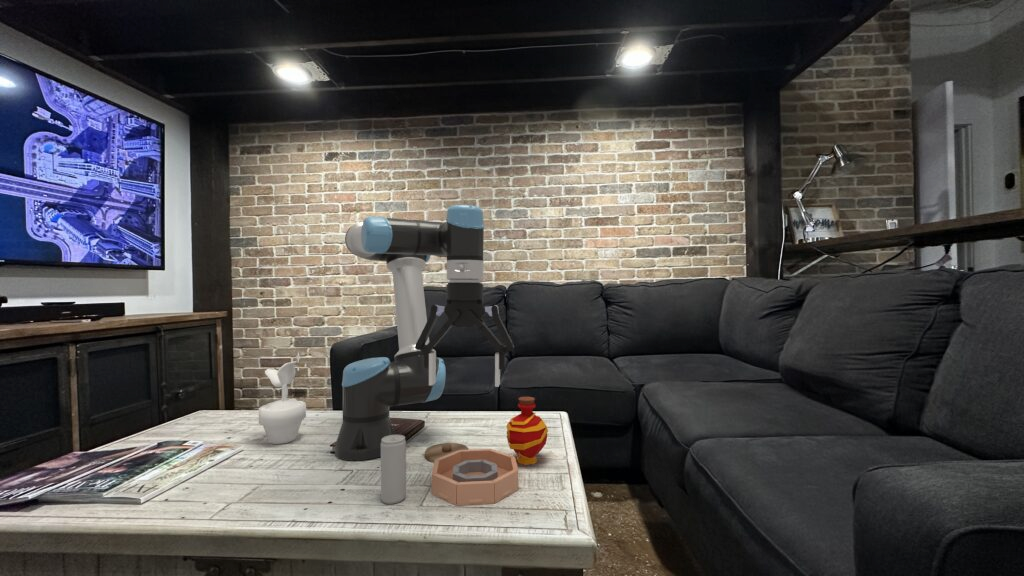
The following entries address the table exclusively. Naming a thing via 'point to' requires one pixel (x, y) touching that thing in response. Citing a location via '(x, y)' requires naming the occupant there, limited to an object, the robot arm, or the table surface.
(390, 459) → the beverage can
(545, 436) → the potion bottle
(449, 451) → the walnut lid
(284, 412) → the potted plant
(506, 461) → the dish
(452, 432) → the table surface
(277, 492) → the table surface
